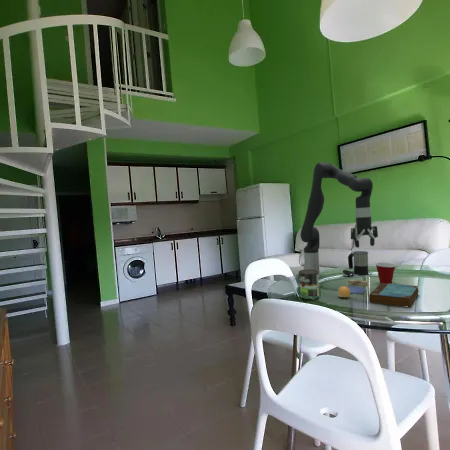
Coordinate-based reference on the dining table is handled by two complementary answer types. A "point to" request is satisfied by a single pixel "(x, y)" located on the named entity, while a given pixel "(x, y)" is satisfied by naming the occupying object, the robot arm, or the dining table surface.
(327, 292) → the dining table surface
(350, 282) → the stopper bar
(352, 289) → the disc
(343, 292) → the ball
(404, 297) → the book
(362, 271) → the milk frother
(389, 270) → the plastic cup
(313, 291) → the coffee can
